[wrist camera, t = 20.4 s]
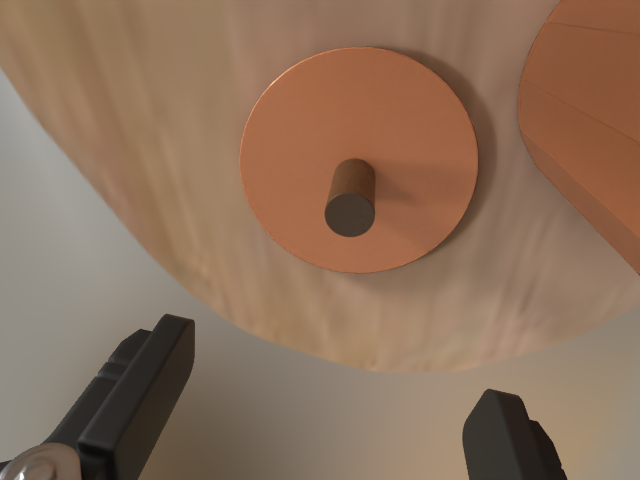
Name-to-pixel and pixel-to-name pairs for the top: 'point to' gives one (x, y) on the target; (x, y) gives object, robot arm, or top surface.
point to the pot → (589, 113)
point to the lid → (359, 160)
